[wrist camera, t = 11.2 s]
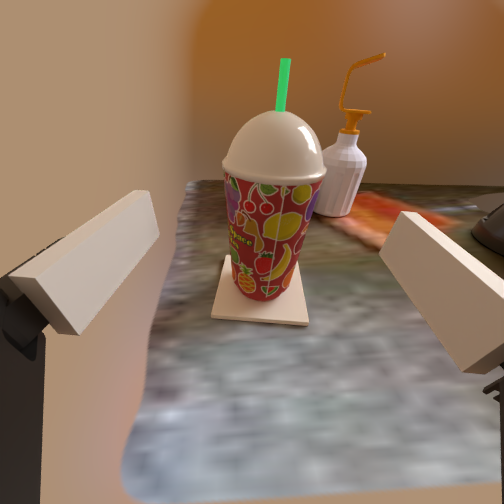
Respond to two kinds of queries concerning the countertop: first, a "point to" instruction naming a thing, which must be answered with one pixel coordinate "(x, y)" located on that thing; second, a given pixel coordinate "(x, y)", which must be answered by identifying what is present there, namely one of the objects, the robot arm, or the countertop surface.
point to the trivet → (259, 302)
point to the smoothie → (270, 196)
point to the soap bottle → (343, 161)
